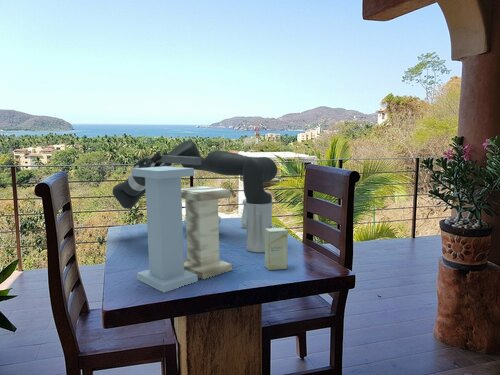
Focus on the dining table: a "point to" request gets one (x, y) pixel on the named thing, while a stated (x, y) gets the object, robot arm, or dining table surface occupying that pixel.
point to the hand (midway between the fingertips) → (163, 154)
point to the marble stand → (203, 230)
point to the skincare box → (276, 248)
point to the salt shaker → (244, 215)
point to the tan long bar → (180, 159)
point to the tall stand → (164, 228)
